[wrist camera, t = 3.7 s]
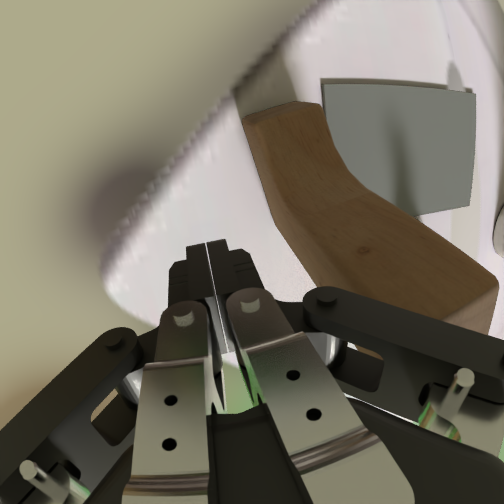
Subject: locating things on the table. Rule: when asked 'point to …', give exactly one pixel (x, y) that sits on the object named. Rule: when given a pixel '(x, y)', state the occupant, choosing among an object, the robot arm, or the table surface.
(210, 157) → the table surface
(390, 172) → the mat
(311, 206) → the wooden block
